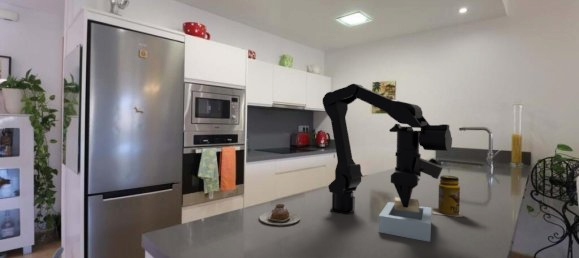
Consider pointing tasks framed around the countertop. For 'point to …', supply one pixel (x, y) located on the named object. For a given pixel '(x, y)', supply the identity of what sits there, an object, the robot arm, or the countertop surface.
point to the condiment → (448, 197)
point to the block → (412, 205)
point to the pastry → (279, 216)
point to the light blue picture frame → (406, 222)
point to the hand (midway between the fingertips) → (406, 205)
